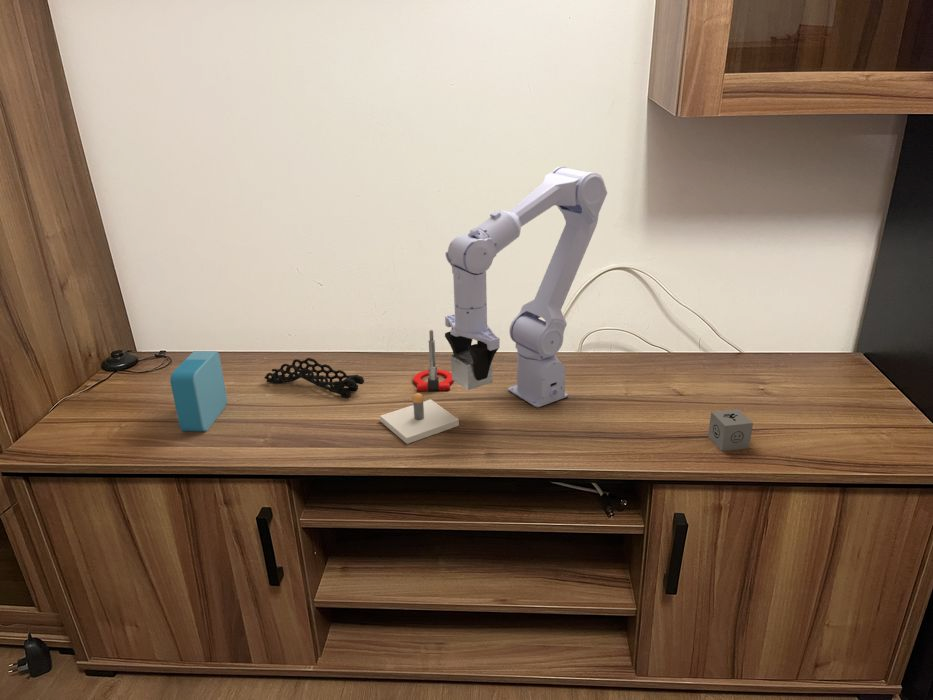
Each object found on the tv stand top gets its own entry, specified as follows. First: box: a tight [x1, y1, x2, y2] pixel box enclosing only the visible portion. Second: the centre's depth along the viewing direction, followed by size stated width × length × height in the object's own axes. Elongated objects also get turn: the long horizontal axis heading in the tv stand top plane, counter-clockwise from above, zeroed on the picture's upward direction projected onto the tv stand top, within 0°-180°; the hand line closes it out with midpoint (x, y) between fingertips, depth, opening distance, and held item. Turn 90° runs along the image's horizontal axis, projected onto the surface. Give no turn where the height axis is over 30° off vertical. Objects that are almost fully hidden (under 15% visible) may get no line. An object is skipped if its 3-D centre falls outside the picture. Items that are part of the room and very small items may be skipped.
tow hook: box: [413, 329, 454, 392], centre depth 147 cm, size 8×13×9 cm
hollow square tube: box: [450, 350, 493, 391], centre depth 132 cm, size 5×5×5 cm
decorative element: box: [263, 357, 365, 399], centre depth 147 cm, size 22×5×6 cm, turn 69°
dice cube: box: [707, 408, 754, 452], centre depth 123 cm, size 5×5×5 cm
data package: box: [169, 350, 228, 432], centre depth 135 cm, size 12×4×12 cm, turn 177°
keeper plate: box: [379, 392, 460, 445], centre depth 132 cm, size 10×11×6 cm
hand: (472, 373), depth 132 cm, fingers closed on hollow square tube, 5 cm apart
